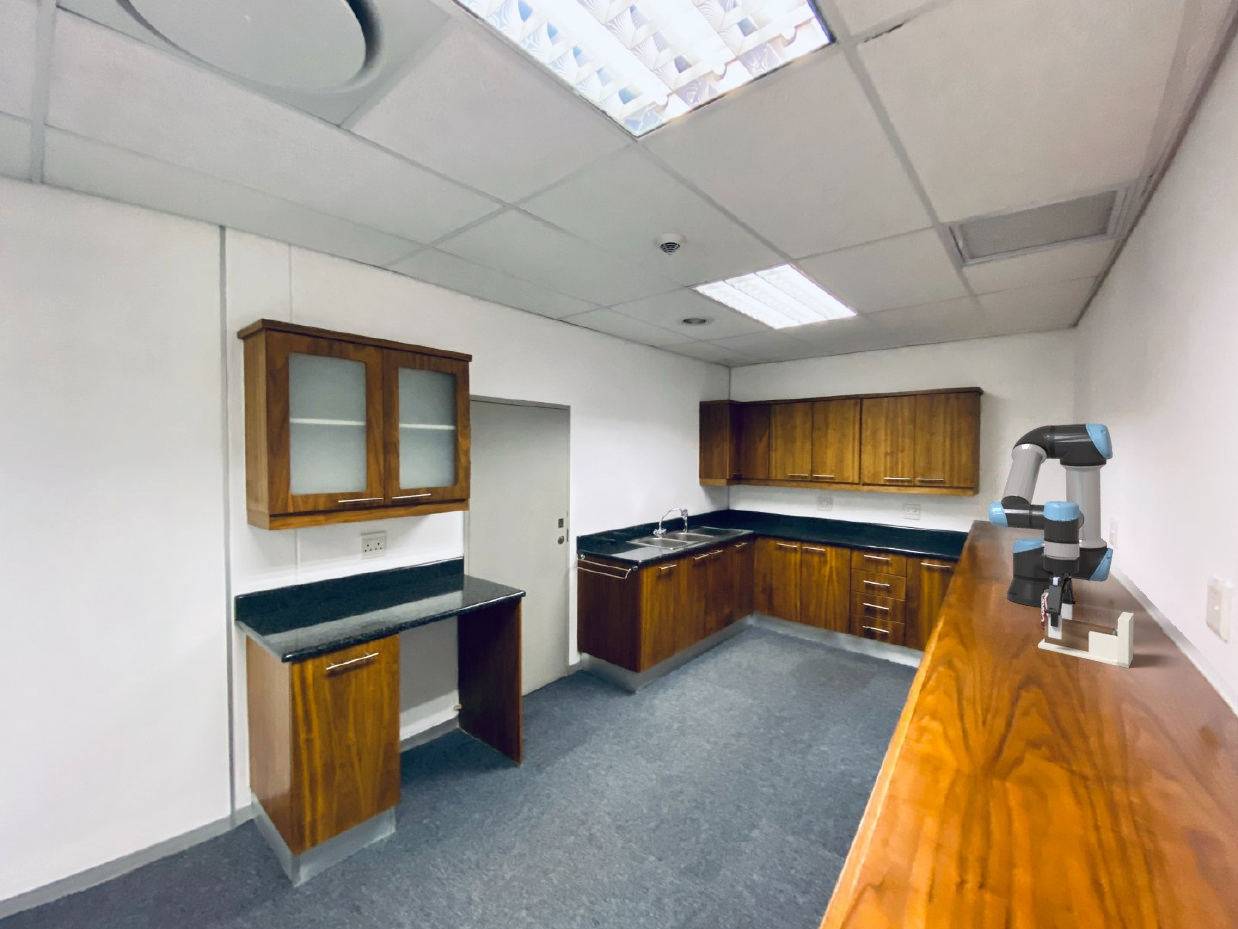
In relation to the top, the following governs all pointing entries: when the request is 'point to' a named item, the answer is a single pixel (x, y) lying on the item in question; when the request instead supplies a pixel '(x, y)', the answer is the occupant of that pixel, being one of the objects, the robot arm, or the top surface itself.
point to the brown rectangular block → (1077, 633)
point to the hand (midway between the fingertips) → (1060, 632)
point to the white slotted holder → (1105, 644)
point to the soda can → (1044, 606)
